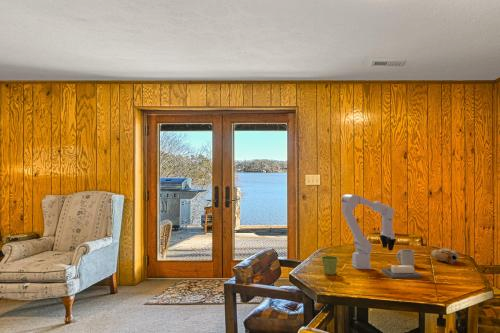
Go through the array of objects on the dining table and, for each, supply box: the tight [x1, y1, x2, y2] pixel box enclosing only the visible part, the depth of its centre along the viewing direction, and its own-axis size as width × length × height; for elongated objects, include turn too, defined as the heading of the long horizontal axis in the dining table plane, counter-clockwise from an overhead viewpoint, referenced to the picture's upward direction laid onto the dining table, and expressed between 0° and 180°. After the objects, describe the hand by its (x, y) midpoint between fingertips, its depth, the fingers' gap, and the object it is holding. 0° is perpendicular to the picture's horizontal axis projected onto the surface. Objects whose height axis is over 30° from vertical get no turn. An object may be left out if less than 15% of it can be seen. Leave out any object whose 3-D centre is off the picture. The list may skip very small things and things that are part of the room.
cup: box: [395, 248, 415, 267], centre depth 204 cm, size 7×10×9 cm
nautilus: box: [430, 248, 460, 266], centre depth 209 cm, size 8×21×15 cm
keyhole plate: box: [381, 268, 422, 279], centre depth 185 cm, size 16×12×2 cm
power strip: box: [390, 264, 415, 274], centre depth 183 cm, size 11×4×5 cm, turn 92°
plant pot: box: [320, 255, 339, 276], centre depth 187 cm, size 9×9×9 cm
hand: (387, 248), depth 203 cm, fingers open, 7 cm apart
